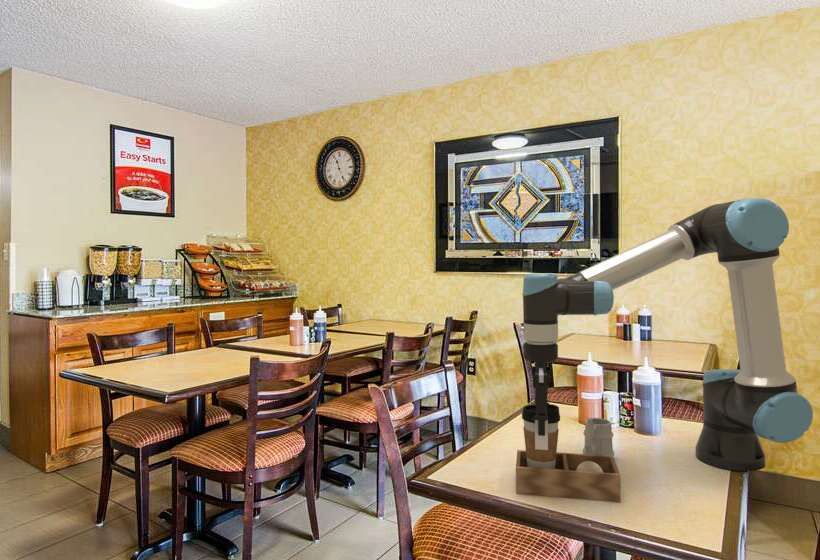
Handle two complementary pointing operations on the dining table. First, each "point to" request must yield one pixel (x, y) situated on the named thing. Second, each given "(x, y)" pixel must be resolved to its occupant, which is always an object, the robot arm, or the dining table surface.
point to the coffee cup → (534, 456)
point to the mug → (598, 437)
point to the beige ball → (589, 467)
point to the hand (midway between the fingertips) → (541, 441)
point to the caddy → (570, 478)
